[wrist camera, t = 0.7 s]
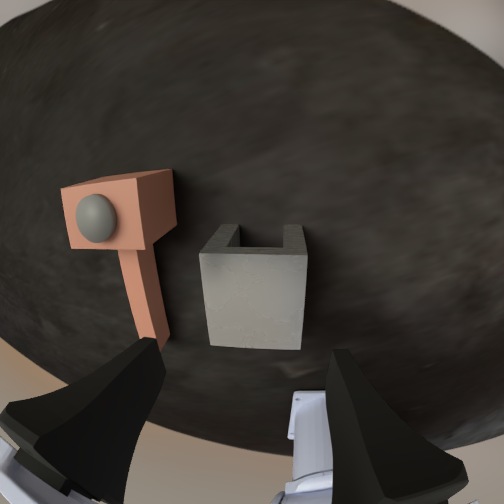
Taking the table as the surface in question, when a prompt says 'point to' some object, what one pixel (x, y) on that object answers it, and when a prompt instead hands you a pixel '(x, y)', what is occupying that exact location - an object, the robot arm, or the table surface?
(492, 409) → the table surface
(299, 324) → the block
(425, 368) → the table surface
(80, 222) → the pink button lever
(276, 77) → the table surface
